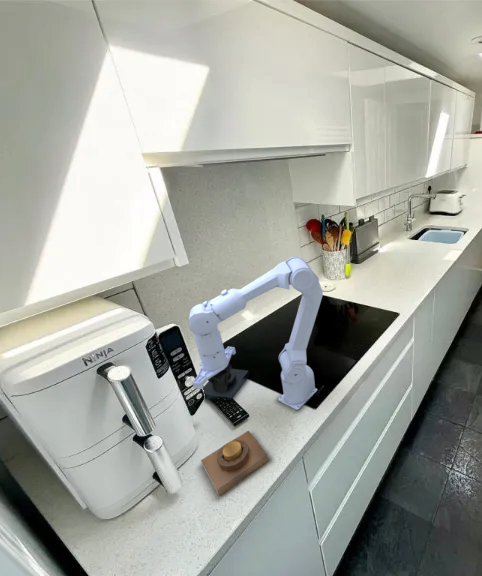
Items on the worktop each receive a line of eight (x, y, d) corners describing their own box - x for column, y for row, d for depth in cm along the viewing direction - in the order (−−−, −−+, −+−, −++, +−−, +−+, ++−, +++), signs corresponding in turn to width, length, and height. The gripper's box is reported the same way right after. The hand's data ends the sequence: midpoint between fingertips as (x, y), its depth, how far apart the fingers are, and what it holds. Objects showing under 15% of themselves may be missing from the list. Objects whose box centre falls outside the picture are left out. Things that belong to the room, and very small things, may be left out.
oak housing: (249, 436, 82) (247, 425, 81) (268, 460, 76) (266, 449, 74) (202, 466, 75) (198, 455, 73) (219, 496, 68) (215, 485, 67)
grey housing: (222, 372, 105) (220, 363, 104) (249, 375, 104) (247, 366, 102) (199, 398, 95) (196, 388, 93) (229, 402, 93) (226, 392, 91)
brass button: (237, 443, 76) (236, 438, 76) (244, 453, 74) (243, 448, 73) (221, 453, 74) (219, 448, 73) (228, 464, 71) (226, 459, 71)
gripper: (215, 332, 85) (225, 370, 91) (176, 366, 72) (190, 408, 78) (238, 334, 84) (247, 373, 89) (202, 369, 71) (215, 412, 76)
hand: (222, 390), depth 83 cm, fingers closed
